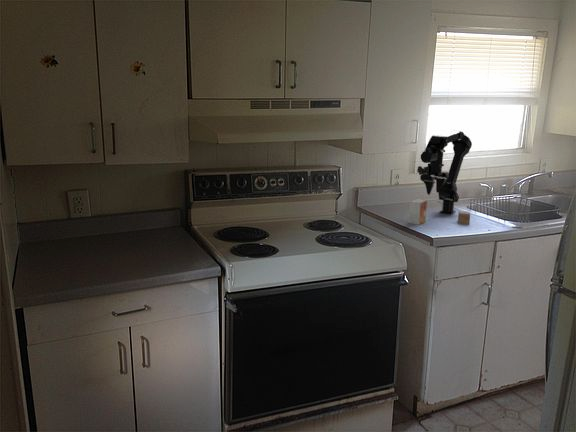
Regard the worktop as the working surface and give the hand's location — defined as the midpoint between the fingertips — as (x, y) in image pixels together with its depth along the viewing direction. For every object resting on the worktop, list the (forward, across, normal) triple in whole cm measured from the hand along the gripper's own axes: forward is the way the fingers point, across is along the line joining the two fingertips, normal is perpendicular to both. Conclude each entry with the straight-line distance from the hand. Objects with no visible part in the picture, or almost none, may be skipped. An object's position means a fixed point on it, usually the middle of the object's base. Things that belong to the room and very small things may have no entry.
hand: (433, 193), depth 264 cm
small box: (+13, +14, 0) cm, 19 cm away
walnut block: (+12, -3, +16) cm, 20 cm away
